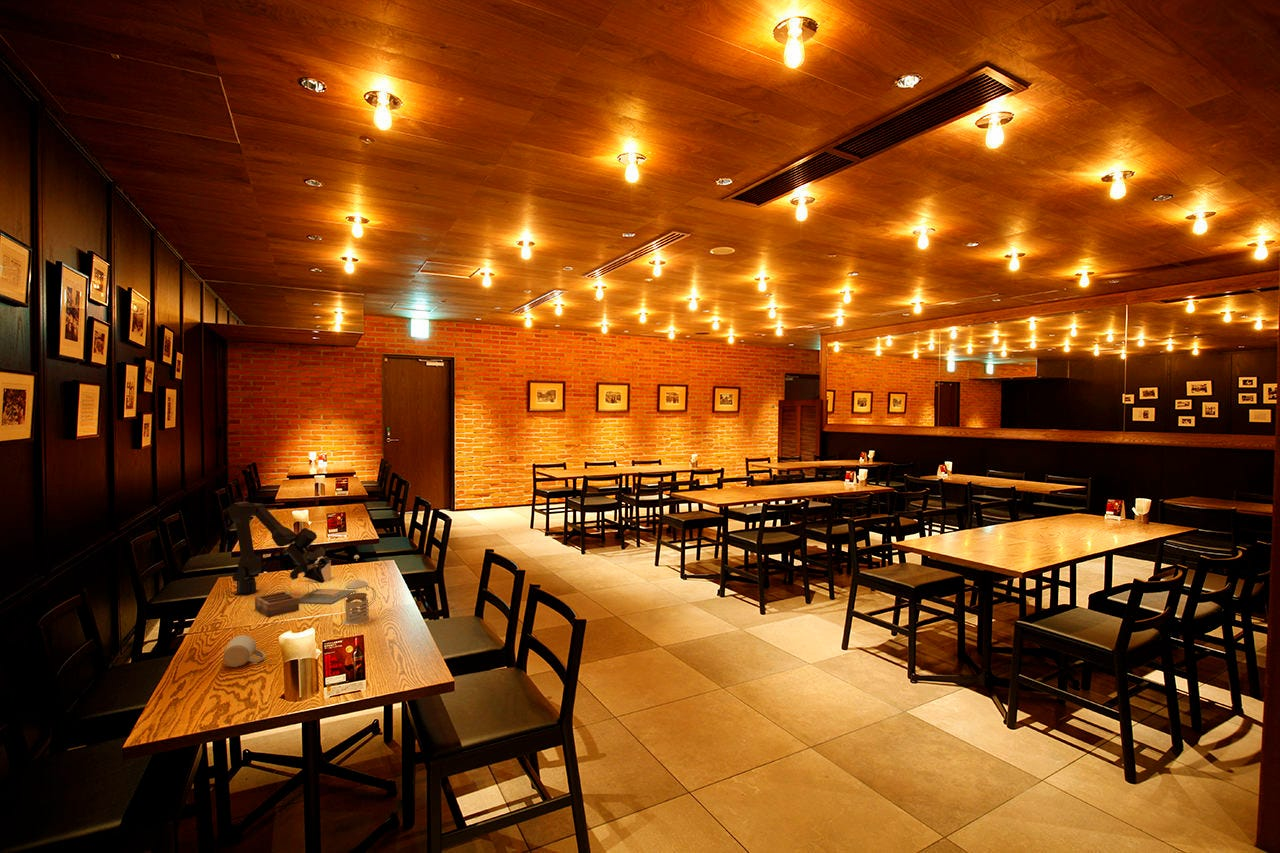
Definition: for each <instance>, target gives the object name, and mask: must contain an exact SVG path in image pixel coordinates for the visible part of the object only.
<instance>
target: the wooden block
mask: <svg viewBox="0 0 1280 853" xmlns="http://www.w3.org/2000/svg"><path fill="white" fill-rule="evenodd" d="M321 589H322V588H321ZM341 590H342V589H330V590H325V589H324V588H323V589H322V590H320V591H317V592H315V593H313V598H318V599H334V598H336V597H338V596H340V595H341Z"/></svg>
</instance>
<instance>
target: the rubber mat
mask: <svg viewBox="0 0 1280 853" xmlns="http://www.w3.org/2000/svg"><path fill="white" fill-rule="evenodd" d="M320 590H322V588H315V589H314V590H312V591H310V592H308V593H306V594H303V595H300V597H298V598H299V604H304V605H305V604H307V605H309V604H310V605H333V604H335V603H337V602H339V601H341V600H343V599H344V597H345V598H347V597H346V596H348V595H349V594H351V593H353V592H354V593H356V592H357V589H340V590H341V595H340V596H338V597H336V598H334V599H318V598H313V593H315V592H317V591H320ZM325 590H331V589H327V588H326V589H325ZM355 591H356V592H355ZM354 593H353V594H354ZM342 598H343V599H342ZM340 599H341V600H340Z"/></svg>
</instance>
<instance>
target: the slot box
mask: <svg viewBox="0 0 1280 853" xmlns="http://www.w3.org/2000/svg"><path fill="white" fill-rule="evenodd" d="M254 608H255V609H254V610H255V611H256V610H257V611H256V612H258V613H260V614H261V615H263V616H265V617H266V618H273V617H276V616H281V615H284V614H289V613H290V614H291V613H294V612H298V611H300V603H299V597H297V596H296V595H294V594H292V593H290V592H288V591H286V590H285V591H279V592H275V593H269V594H266V595H265V594H263V595H260V596H255V597H254Z"/></svg>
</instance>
